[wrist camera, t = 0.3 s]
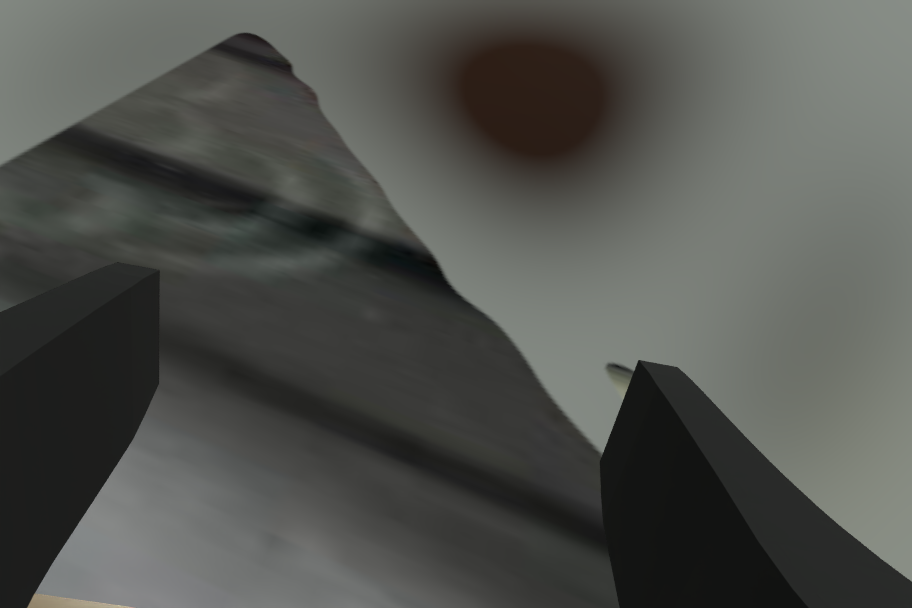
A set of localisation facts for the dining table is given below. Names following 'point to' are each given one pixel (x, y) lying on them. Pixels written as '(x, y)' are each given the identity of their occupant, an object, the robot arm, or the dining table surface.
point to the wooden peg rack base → (66, 603)
